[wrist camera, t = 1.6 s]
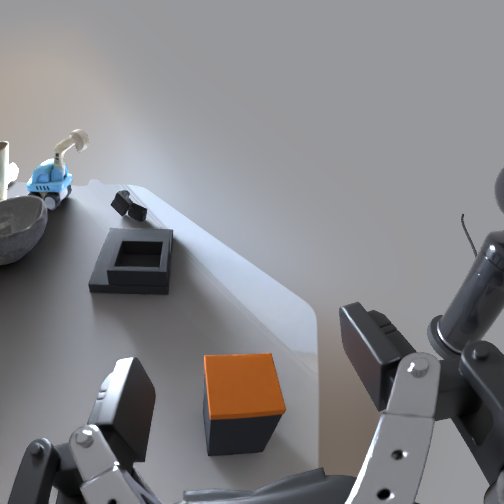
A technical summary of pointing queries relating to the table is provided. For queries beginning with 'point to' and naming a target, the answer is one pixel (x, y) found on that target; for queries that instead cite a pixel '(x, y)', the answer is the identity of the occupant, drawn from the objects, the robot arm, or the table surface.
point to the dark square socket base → (134, 262)
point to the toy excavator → (56, 172)
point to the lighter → (128, 206)
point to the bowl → (20, 226)
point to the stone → (12, 172)
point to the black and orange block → (240, 403)
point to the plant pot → (3, 169)
